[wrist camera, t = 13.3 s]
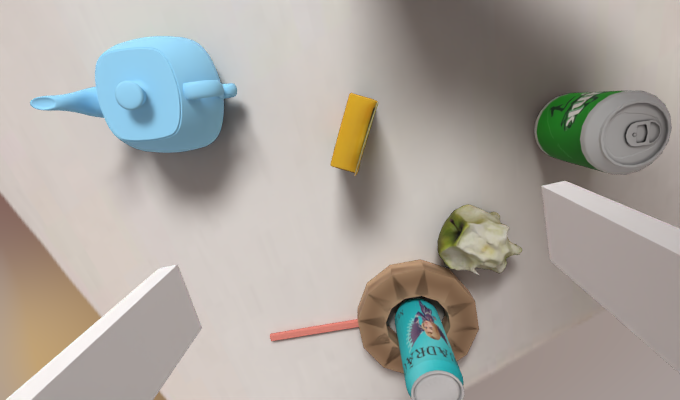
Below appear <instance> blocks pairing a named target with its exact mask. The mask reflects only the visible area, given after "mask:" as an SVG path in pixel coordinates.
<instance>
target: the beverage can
mask: <svg viewBox="0 0 680 400" xmlns="http://www.w3.org/2000/svg"><path fill="white" fill-rule="evenodd" d="M395 325H396V331H397V336H398V342H399V348H400V353H401V359H402V365H403V370H404V376H405V382H406V387H407V391H408V393H409V395H410V396H411V398H412V400H463V399H464V388H463V377H462V374H461V372H460V369H459V366H458V364H457V361H456V359H455V356H454V354H453V351H452V348H451V346H450V343H449V341H448V338H447V336H446V333H445V330H444V328H443V325H442V323H441V320H440V317H439V315H438V312H437V310H436V309H435V307H434V306H433V305H432V304H430V303H429V302H427V301H426V300H424V299H421V298H409V299H407V300H405V301H404V302H403V303H402V304H401V305H400V306H399V308H398V310H397V312H396V315H395Z"/></svg>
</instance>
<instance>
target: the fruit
mask: <svg viewBox="0 0 680 400" xmlns="http://www.w3.org/2000/svg"><path fill="white" fill-rule="evenodd" d="M508 230H509V227H507V226H506V225H505V224H501V223H500V215H499V214H498V213H496V212H491V213H488V212H485V211H484V210H482V209H479V208H477V207H474V206H472V205H469V204H468V205H464V206H462V207H460V208H458V209H456V210H454V211H453V213H451V215H450V216H449V218H448V219H447V220H446V222H445V223H444V225H443V227H442V229H441V232H440V234H439V238H438V253H439V256H440V257H441V258H442V259H443V260H444V263H445V267H446V268H451V269H455V270H469V271H471V272H473V273H475V274H476V275H479V276H480V274H478V273H477V272H476V270H475V268H482V269H490V270H493V271H495V272H497V273H502V272H503V270H504V269H505V267H506V264H507V262H506V258H507V257H509V256H512V255H519V254H520V252H522V248H521V247H519V246H517V245H516V244H513V243H511V242H510V241H509V239H508V237H507V233H508ZM447 265H448V266H449V267H447Z"/></svg>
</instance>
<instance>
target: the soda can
mask: <svg viewBox="0 0 680 400" xmlns="http://www.w3.org/2000/svg"><path fill="white" fill-rule="evenodd" d="M671 129H672V127H671V117H670V113H669V111H668V109H667V107H666V105H665V104H664V103H663V102H662V101H661V100H660V99H659V98H658V97H656V96H655V95H652V94H650V93H647V92H644V91H609V92H586V93H567V94H564V95H561V96H557V97H556V98H554V99H553V100H551V101H550V102H548V103H547V104H546V105H545V106H544V108H543V109H542V110H541V111H540V113H539V115H538V117H537V119H536V122H535V128H534V134H535V139H536V142H537V144H538V146H539V147H540V149H541V150H542V151H543V152H544V153H546V154H547V155H548V156H551V157H553V158H556V159H559V160H563V161H566V162H570V163H574V164H577V165H581V166H584V167H588V168H591V169H595V170H598V171H602V172H606V173H609V174H624V175H626V174H629V173H633V172H637V171H640V170H641V169H643V168H645V167H646V166H648V165H650V164H651V163H652V162H653V161H654V160H655V159H656V158H657V157H658V156H659V155H660V154H661V153H662V152H663V150H664V148H665V147H666V145H667V143H668V141H669V138H670V133H671Z"/></svg>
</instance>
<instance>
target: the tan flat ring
mask: <svg viewBox="0 0 680 400" xmlns="http://www.w3.org/2000/svg"><path fill="white" fill-rule="evenodd" d="M418 296H423V297H427V298H430V299H433V300H436V301H438V302H439V303H440V304H441V305H442V306H443V307H444V311H445V316H444V318H443V320H442V322H441V323H442V325H443V328H444V330H445V333H446V336H447V338H448V341H449V343H450V346H451V348H452V351H453V354H454V356H455V359H456V361H458V360H460V359H461V358H463V357H464V356H465V355H467V353H468V351H469V349H470V347H471V345H472V342H473V340H474V338H475V336H476V334H477V332H478V330H479V326H478V319H477V312H476V305H475V300H474V299H473V297H472V295H471V294H470V292H469V290H468V289H467V288H466V287H465V286H464V285H463V283H462V282H461V281H460V280H459V279H458V278H457V277H456V276H455V275H454V273H453V272H452V271H451V270H450V269H449V268H445V267H442V266H439V265H436V264H433V263H430V262H427V261H423V260H415V261H409V262H404V263H398V264H393V265H389V266H388V267H387V268H386V269H384V270H383V271H382V272H381V273H379V274H378V275H377V276H376V277H374V278H373V279H372V280H370V281H369V282H368V283H367V285H366V287H365V290H364V293H363V295H362V298H361V301H360V303H359V306H358V325H359V329H360V333H361V338H362V342H363V347H364V348H365V349H366V350H367V351H368V352H369V353H370V354H371V355H372V356H373V357H374V358H375V359H376V360H377V361H378V362H379V363H380V364H381V365H382V366H383V367H384V368H387V369H390V370H394V371H397V372H400V373H403V374H404V370H403V365H402V359H401V353H400V348H399V342H398V336H397V334H396V333H395V332H394V331H393V330H392V329H391V328H390V327H389V326H388V325H387V322H386V321H387V318H388V316H389V313H390V311H391V309H392V308H393V307H394V306H396V305H397V304H398V303H400V302H401V301H402V300H403V299H406V298H412V297H418Z"/></svg>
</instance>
